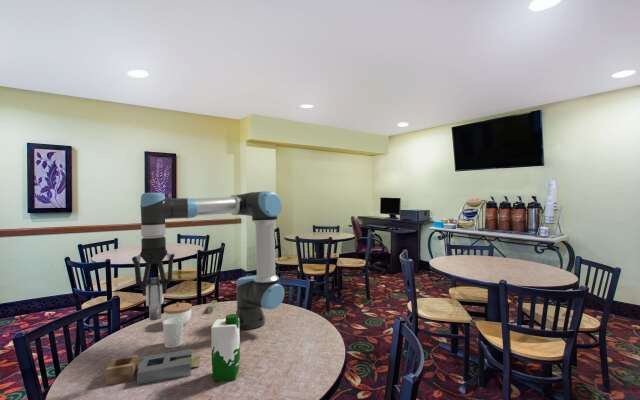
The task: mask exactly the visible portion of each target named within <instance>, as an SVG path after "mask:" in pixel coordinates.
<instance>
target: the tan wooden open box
mask: <svg viewBox="0 0 640 400" xmlns="http://www.w3.org/2000/svg"><path fill="white" fill-rule="evenodd" d="M138 370H139V354H134V355H128V356H122V357H116V358H111V360H110V361H109V363H108V365H107V366H106V368H105V370H104V376H105V377H104V379H105V380H104V383H105V384H104V385H105V386H109V385H114V384H120V383H125V382H131V381H134V379H135V377H136V376H137V372H138Z"/></svg>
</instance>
